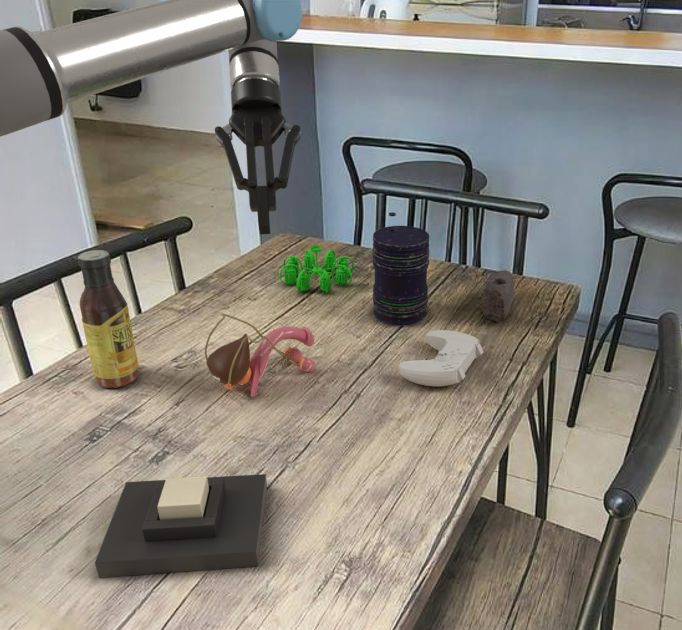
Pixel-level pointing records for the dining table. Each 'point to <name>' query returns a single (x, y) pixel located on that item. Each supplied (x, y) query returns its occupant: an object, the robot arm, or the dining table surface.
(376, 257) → the storage jar
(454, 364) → the game controller
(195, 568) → the stepped tiered pedestal
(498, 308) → the perforated stone tool
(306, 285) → the chandelier
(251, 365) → the anatomy model
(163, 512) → the key
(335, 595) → the dining table surface
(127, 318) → the sauce bottle
